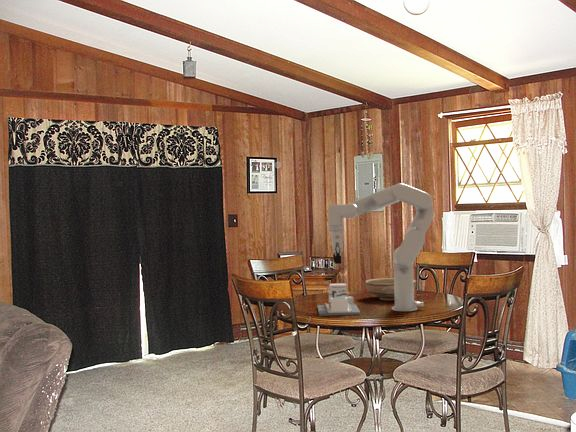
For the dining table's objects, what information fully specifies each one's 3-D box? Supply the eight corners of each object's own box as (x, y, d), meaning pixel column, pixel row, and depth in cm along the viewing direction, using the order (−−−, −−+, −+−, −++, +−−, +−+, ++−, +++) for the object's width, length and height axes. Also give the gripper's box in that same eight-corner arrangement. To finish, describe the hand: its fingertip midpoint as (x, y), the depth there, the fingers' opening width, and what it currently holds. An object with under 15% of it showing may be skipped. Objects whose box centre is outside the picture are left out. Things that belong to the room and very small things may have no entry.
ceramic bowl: (366, 294, 380) (366, 277, 380) (415, 293, 375) (415, 276, 375) (363, 303, 344) (363, 285, 343) (417, 303, 339) (417, 284, 339)
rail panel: (355, 306, 334) (355, 291, 334) (360, 314, 309) (360, 298, 309) (317, 307, 335) (317, 292, 335) (319, 315, 310) (318, 299, 310)
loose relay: (350, 303, 345) (350, 296, 345) (353, 304, 342) (353, 297, 342) (343, 304, 344) (343, 296, 344) (346, 305, 340) (346, 297, 340)
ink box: (330, 308, 319) (330, 284, 319) (329, 307, 324) (328, 283, 324) (347, 307, 320) (347, 284, 320) (345, 306, 325) (345, 283, 325)
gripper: (345, 229, 313) (346, 264, 313) (342, 228, 330) (343, 261, 331) (329, 229, 313) (330, 264, 313) (327, 228, 330) (328, 261, 331)
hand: (337, 262), depth 322 cm, fingers open, 9 cm apart
